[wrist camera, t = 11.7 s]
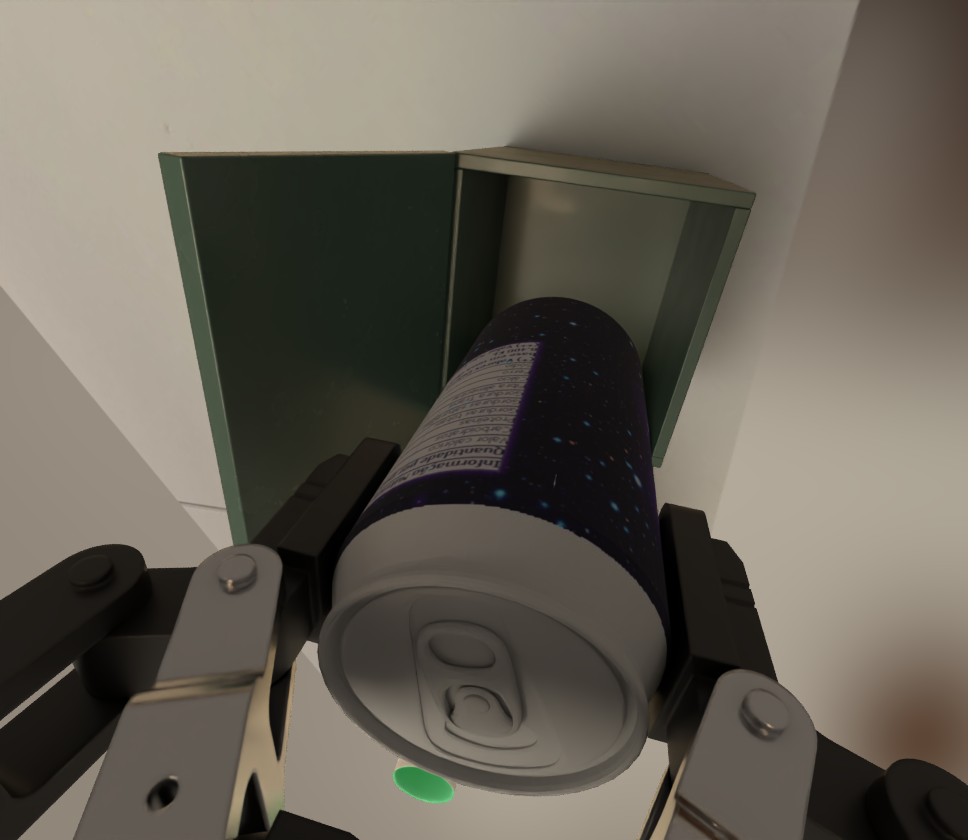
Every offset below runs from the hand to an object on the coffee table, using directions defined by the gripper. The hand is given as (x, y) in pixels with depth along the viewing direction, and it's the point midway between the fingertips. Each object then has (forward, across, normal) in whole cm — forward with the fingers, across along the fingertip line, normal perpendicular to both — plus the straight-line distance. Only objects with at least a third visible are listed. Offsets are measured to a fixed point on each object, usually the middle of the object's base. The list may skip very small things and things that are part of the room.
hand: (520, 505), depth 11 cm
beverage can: (+8, 0, 0) cm, 8 cm away
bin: (+33, 0, +2) cm, 33 cm away
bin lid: (+10, +8, +2) cm, 13 cm away
